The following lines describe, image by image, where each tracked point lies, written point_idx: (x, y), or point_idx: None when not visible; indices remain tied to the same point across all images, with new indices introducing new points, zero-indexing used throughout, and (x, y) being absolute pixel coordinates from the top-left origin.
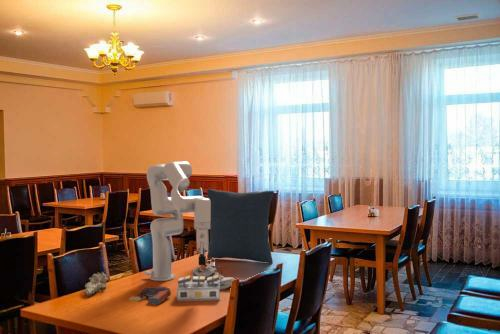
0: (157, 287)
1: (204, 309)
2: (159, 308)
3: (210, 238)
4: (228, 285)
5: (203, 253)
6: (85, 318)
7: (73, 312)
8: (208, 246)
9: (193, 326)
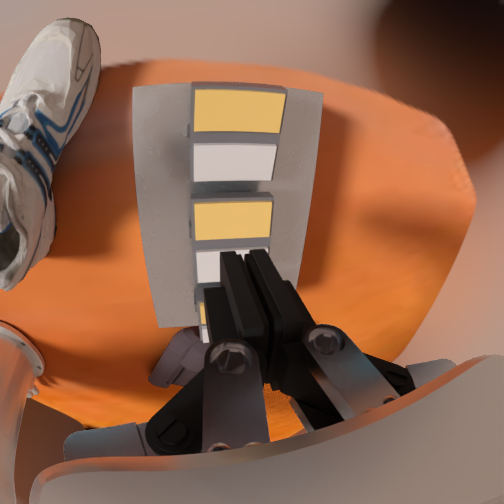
0: (199, 369)
1: (386, 171)
2: (331, 312)
3: None
4: (97, 49)
5: (407, 374)
6: None
7: (298, 418)
8: (353, 493)
9: (467, 207)
